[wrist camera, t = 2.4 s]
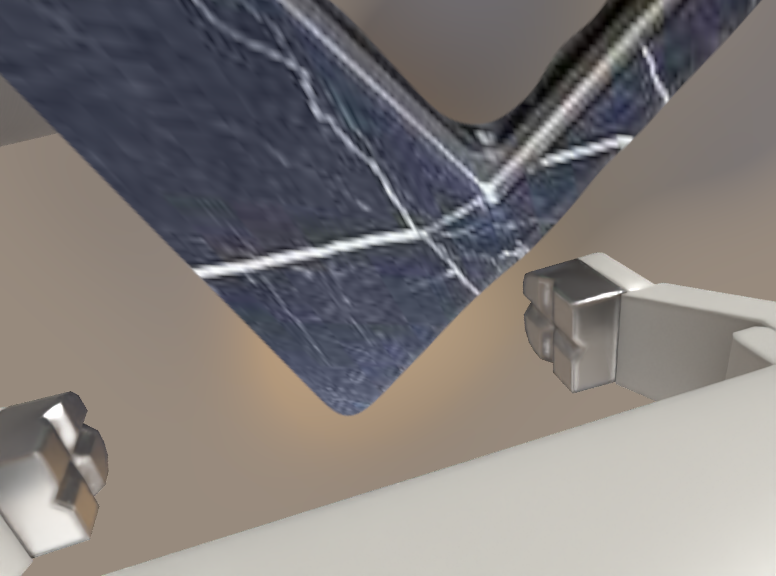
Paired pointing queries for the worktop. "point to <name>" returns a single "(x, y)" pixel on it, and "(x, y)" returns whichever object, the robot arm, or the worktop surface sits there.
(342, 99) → the worktop surface
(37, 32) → the worktop surface
